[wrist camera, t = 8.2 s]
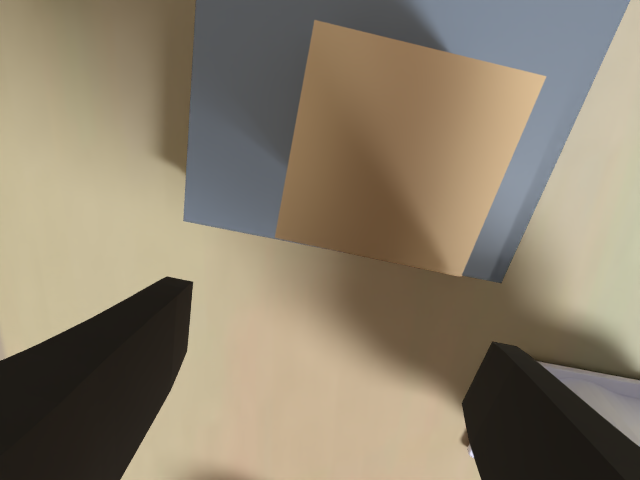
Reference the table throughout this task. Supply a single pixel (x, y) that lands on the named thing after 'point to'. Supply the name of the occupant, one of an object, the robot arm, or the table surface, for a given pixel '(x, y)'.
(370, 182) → the oak block
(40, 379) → the robot arm
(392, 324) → the table surface
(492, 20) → the book
